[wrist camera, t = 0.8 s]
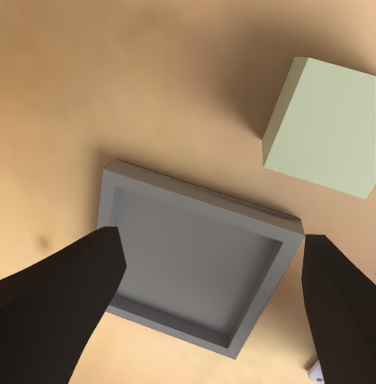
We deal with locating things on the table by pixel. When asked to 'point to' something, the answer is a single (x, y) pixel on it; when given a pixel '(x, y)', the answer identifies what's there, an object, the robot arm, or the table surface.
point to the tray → (193, 256)
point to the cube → (324, 127)
